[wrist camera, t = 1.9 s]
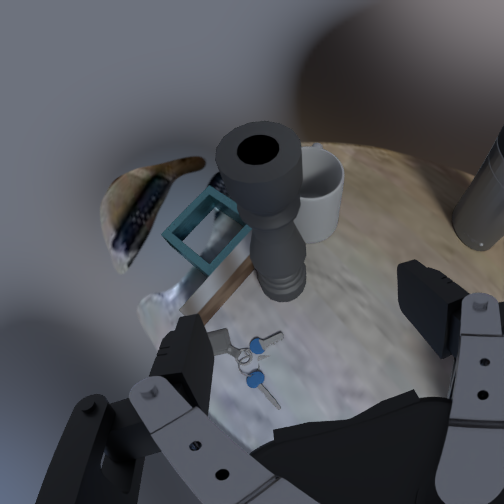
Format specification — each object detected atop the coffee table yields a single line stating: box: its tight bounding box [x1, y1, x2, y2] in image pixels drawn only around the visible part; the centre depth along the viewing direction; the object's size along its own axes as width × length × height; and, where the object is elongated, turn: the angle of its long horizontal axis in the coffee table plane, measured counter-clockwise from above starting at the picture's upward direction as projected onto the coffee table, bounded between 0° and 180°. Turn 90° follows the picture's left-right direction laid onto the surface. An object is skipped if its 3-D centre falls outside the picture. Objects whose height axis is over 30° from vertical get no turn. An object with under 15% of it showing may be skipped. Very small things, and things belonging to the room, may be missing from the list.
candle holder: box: [215, 121, 306, 302], centre depth 30 cm, size 6×6×25 cm
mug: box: [293, 143, 344, 243], centre depth 41 cm, size 12×8×11 cm
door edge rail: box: [179, 230, 255, 325], centre depth 40 cm, size 17×2×5 cm, turn 139°
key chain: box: [207, 329, 284, 410], centre depth 38 cm, size 14×8×1 cm, turn 51°
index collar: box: [161, 185, 252, 277], centre depth 44 cm, size 10×10×4 cm
